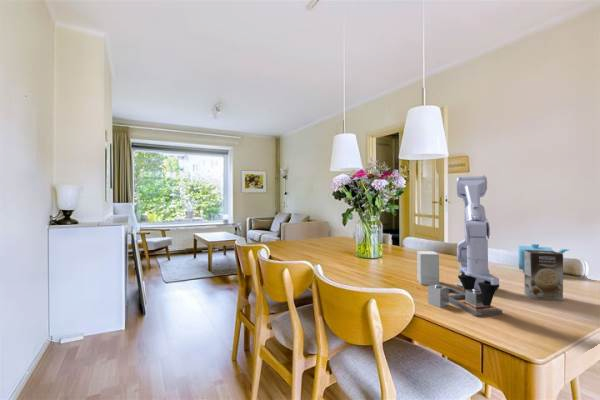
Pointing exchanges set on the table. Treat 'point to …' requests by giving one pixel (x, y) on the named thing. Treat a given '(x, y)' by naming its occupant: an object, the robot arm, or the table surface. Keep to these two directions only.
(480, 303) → the grey rectangular block
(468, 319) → the table surface
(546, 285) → the coffee box
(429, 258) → the supplement box
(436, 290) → the grey upright block
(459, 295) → the grey compartment tray
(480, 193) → the robot arm
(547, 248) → the teapot
